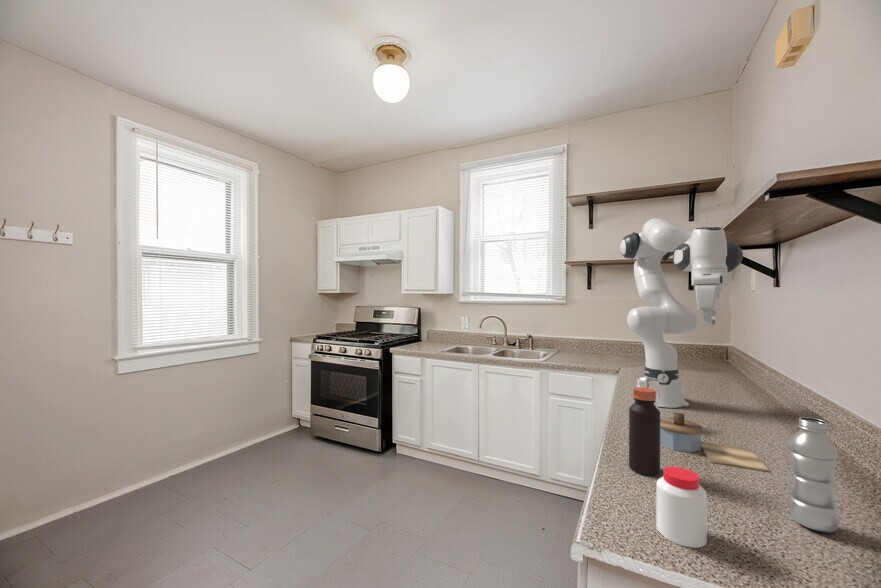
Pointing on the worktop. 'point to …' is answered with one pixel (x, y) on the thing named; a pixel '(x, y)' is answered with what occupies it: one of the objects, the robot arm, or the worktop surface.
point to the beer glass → (650, 386)
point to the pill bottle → (681, 507)
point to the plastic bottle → (813, 476)
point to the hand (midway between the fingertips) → (709, 325)
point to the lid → (680, 425)
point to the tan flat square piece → (732, 456)
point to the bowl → (680, 441)
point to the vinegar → (644, 433)
